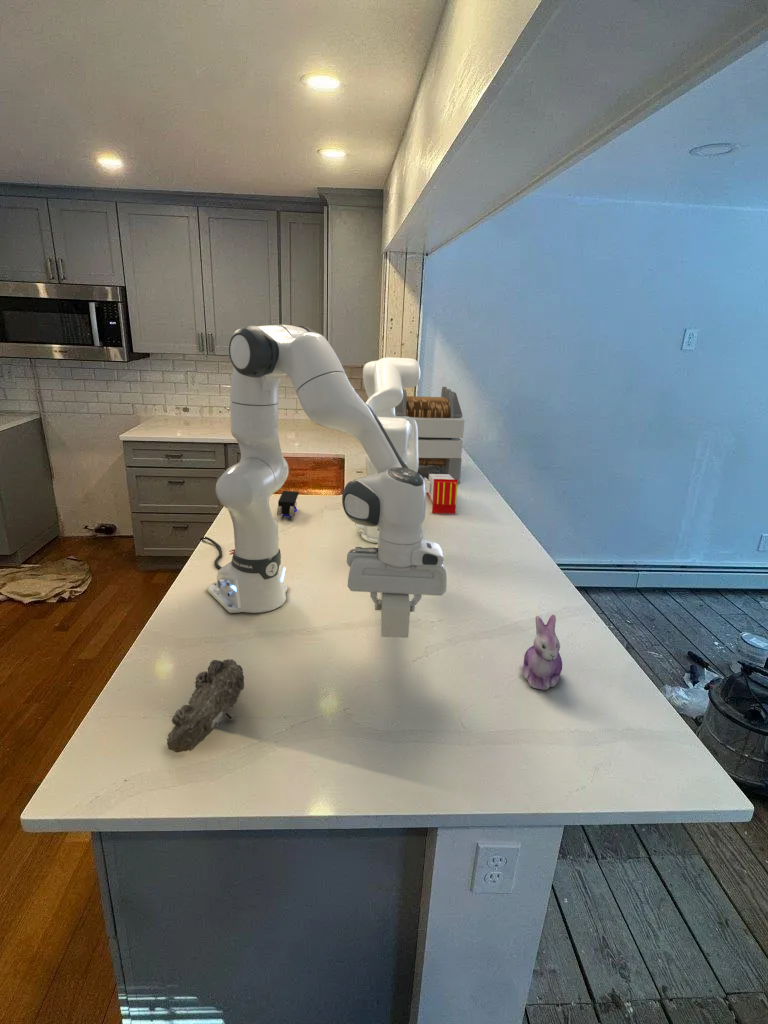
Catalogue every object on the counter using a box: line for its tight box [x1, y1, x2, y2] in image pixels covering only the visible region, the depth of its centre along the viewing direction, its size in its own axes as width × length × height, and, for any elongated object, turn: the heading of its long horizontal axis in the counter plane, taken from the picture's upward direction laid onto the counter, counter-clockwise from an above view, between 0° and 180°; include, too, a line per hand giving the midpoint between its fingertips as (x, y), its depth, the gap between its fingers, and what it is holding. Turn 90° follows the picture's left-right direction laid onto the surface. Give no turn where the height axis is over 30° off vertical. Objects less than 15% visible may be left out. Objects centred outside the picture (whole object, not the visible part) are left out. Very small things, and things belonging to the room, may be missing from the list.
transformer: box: [395, 386, 465, 484], centre depth 268 cm, size 34×33×41 cm
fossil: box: [166, 658, 245, 754], centre depth 106 cm, size 22×10×15 cm
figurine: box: [522, 614, 563, 691], centre depth 121 cm, size 9×10×15 cm
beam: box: [380, 593, 411, 639], centre depth 140 cm, size 60×5×7 cm, turn 1°
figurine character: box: [276, 490, 300, 521], centre depth 211 cm, size 7×8×15 cm
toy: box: [423, 473, 458, 515], centre depth 232 cm, size 12×13×30 cm
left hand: (394, 609), depth 118 cm, fingers closed on beam, 5 cm apart
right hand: (389, 528), depth 163 cm, fingers closed on beam, 5 cm apart
